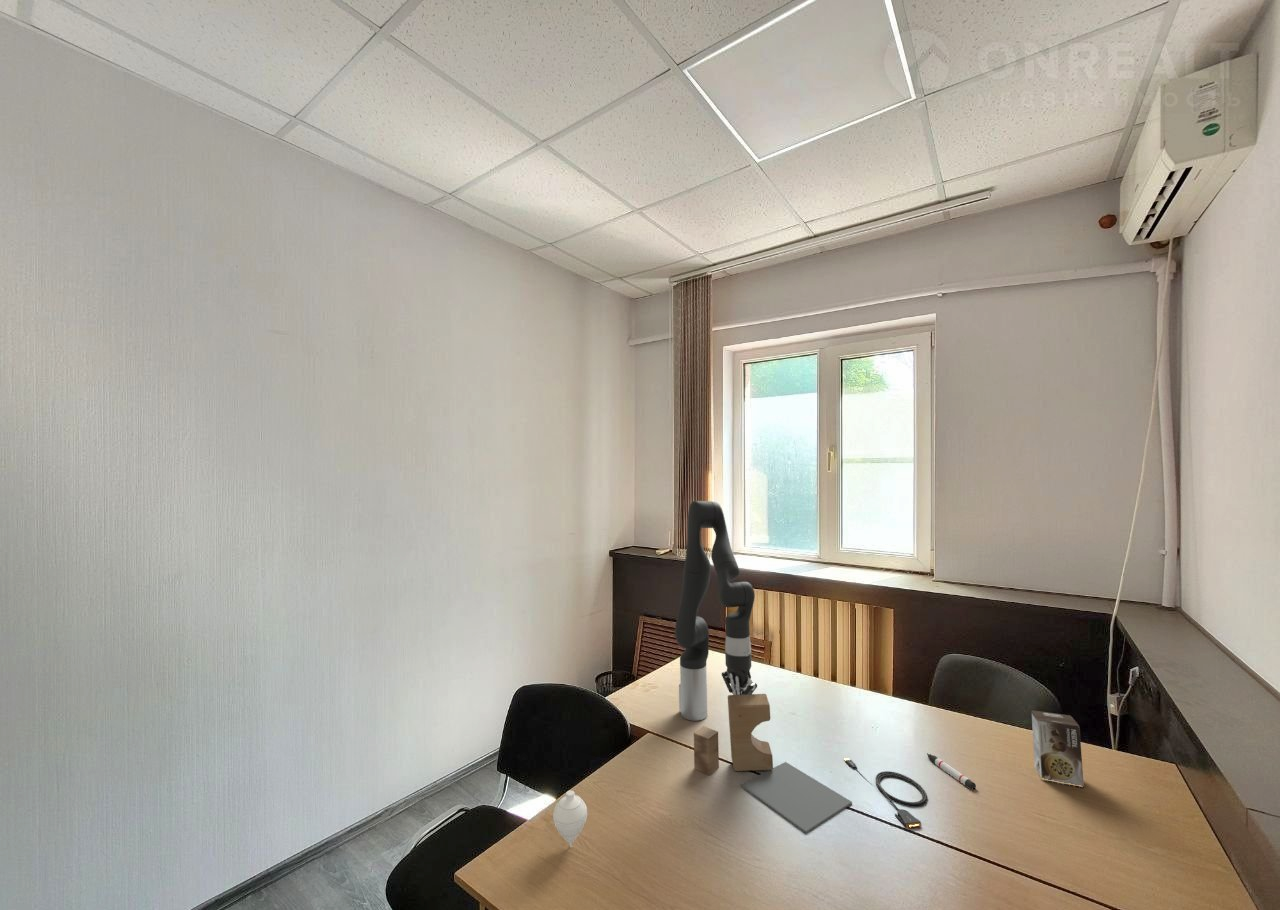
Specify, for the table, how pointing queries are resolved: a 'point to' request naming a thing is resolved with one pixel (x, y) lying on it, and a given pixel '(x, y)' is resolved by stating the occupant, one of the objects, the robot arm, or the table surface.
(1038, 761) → the coffee box
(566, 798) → the spinning top
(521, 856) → the table surface
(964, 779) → the marker
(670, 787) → the table surface
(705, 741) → the walnut block
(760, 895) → the table surface
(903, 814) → the cable
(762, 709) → the decorative block
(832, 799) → the mat
